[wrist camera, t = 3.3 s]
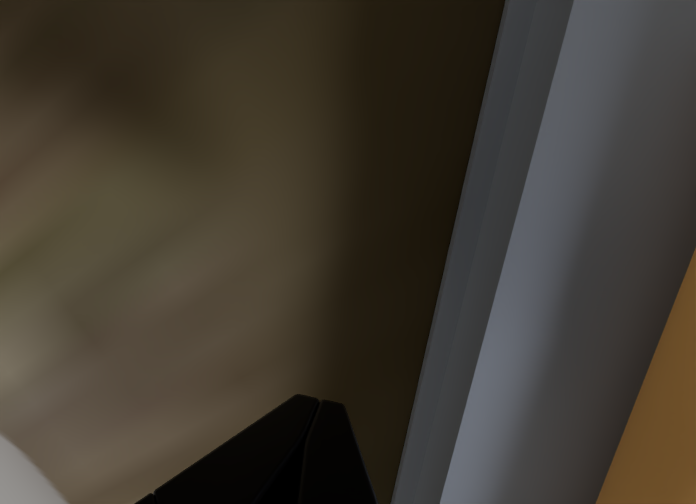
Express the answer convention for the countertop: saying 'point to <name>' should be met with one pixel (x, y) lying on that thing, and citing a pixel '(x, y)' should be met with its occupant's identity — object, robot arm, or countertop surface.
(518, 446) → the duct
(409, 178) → the countertop surface
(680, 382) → the tan cylindrical rod
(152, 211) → the countertop surface
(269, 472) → the robot arm
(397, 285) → the countertop surface
